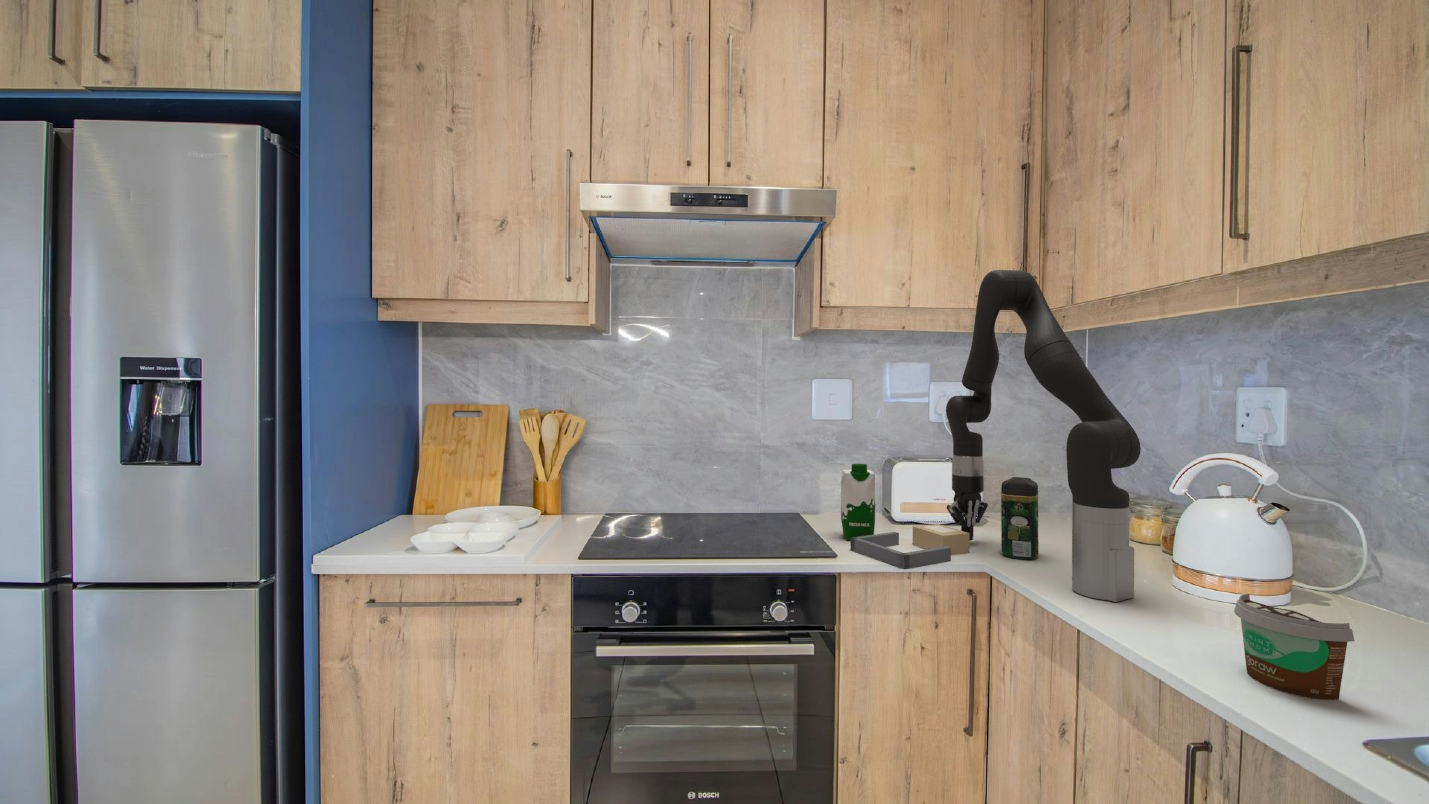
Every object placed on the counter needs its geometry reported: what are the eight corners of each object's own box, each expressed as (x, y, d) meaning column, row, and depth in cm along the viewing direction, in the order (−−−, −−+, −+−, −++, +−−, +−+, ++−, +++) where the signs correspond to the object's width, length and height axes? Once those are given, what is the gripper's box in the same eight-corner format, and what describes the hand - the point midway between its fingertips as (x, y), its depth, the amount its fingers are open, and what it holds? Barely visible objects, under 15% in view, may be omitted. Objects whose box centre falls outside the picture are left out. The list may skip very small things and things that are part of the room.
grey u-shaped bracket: (950, 560, 136) (950, 547, 136) (904, 568, 130) (904, 555, 130) (894, 543, 152) (894, 531, 152) (850, 549, 146) (850, 537, 146)
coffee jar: (1003, 548, 147) (1003, 474, 147) (1039, 552, 143) (1040, 476, 143) (998, 557, 139) (998, 479, 139) (1036, 562, 135) (1037, 481, 135)
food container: (1210, 665, 83) (1211, 595, 83) (1243, 661, 85) (1244, 592, 85) (1317, 711, 71) (1317, 629, 71) (1354, 705, 73) (1354, 624, 73)
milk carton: (843, 541, 154) (843, 465, 154) (839, 533, 163) (839, 461, 163) (877, 542, 153) (877, 465, 153) (871, 534, 162) (871, 461, 162)
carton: (969, 553, 143) (969, 532, 143) (943, 556, 141) (943, 535, 141) (937, 543, 154) (937, 523, 154) (912, 545, 151) (912, 525, 151)
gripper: (961, 476, 145) (961, 546, 145) (997, 473, 151) (997, 540, 151) (937, 472, 152) (937, 539, 152) (973, 469, 158) (973, 534, 158)
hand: (967, 540), depth 152 cm, fingers closed
